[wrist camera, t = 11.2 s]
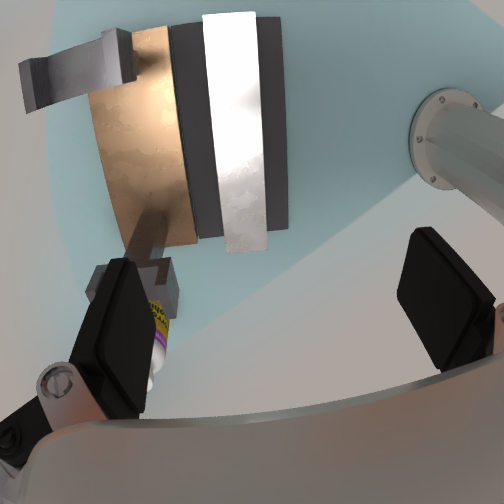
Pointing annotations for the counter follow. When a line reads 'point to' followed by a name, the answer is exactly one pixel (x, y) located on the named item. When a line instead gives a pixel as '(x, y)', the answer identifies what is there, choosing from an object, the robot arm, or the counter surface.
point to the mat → (201, 131)
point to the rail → (237, 127)
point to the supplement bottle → (158, 340)
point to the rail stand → (129, 143)
